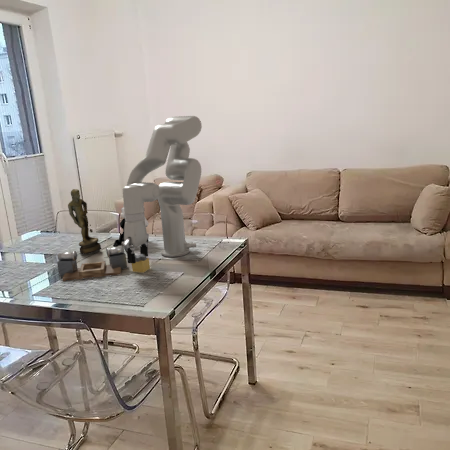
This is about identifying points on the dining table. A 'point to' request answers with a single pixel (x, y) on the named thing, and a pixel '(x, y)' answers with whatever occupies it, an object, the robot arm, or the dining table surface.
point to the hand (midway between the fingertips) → (138, 259)
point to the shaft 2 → (117, 257)
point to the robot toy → (122, 224)
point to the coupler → (140, 263)
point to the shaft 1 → (67, 263)
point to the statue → (82, 223)
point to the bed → (92, 271)
